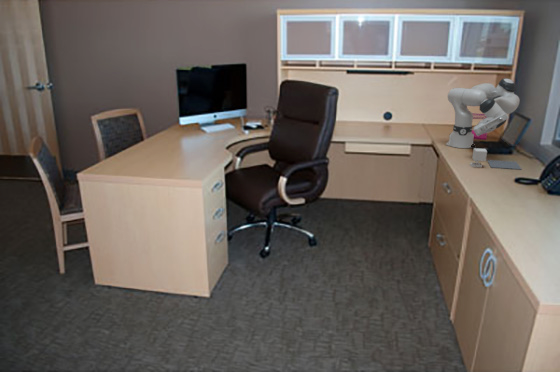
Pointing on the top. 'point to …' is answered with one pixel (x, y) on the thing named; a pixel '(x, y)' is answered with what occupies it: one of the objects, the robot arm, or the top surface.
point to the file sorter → (482, 137)
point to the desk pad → (504, 164)
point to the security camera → (478, 156)
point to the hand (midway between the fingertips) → (493, 123)
